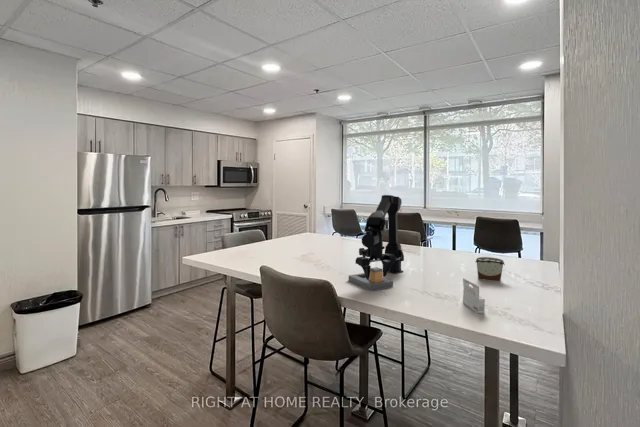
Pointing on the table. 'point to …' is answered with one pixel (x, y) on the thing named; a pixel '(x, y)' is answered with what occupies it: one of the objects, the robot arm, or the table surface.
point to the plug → (376, 275)
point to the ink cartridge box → (473, 297)
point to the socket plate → (363, 282)
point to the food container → (489, 268)
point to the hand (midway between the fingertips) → (376, 278)
